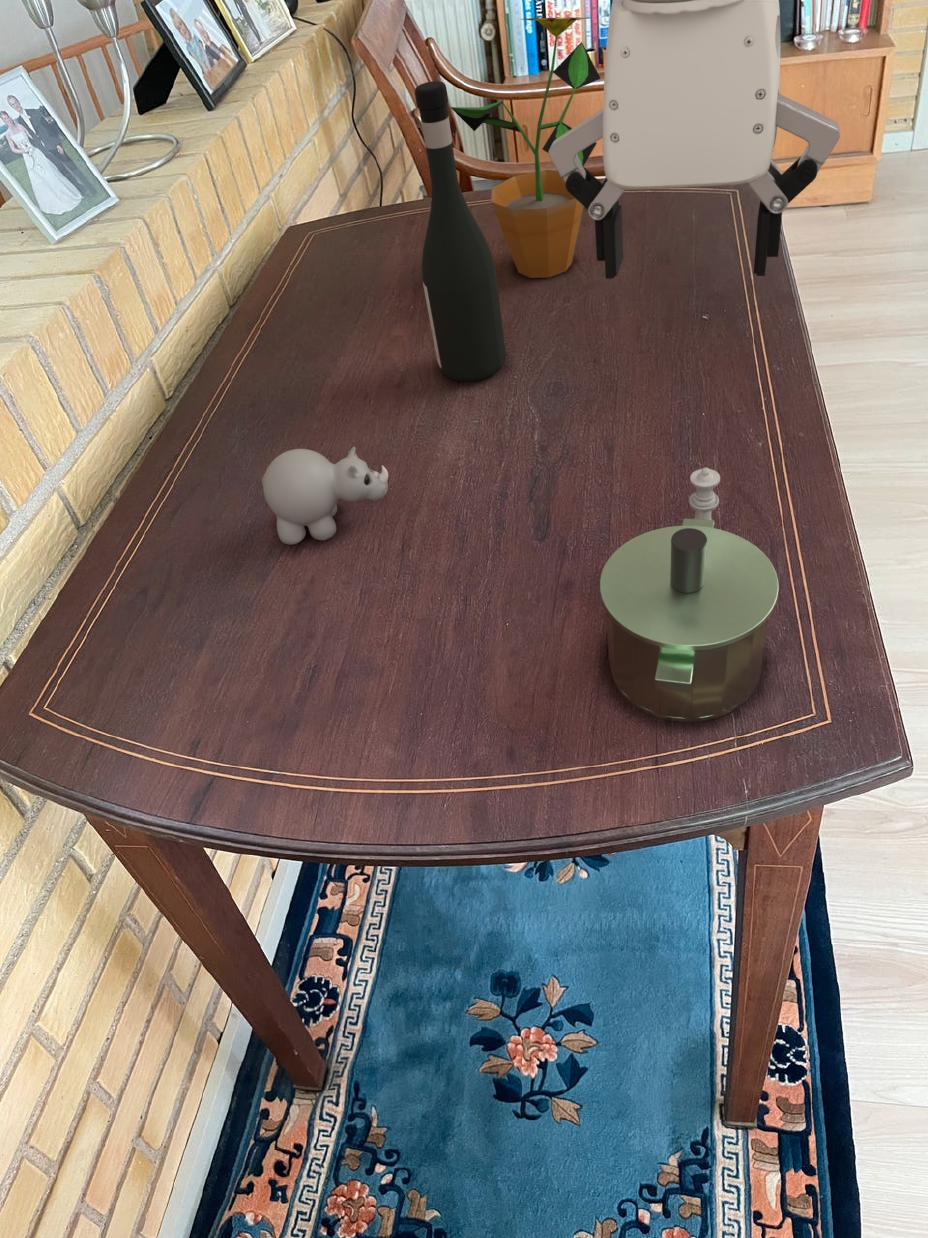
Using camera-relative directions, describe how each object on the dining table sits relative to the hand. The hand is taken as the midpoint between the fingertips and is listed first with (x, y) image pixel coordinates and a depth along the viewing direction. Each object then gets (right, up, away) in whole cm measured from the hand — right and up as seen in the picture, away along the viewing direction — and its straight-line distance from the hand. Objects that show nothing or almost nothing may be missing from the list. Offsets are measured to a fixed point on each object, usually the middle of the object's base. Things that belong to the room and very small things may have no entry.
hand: (685, 267), depth 62 cm
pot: (+2, -27, +10) cm, 29 cm away
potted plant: (-4, +24, +62) cm, 67 cm away
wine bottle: (-14, +6, +46) cm, 48 cm away
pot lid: (+1, -21, +4) cm, 22 cm away
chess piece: (+6, -19, +18) cm, 27 cm away
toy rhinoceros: (-27, -14, +29) cm, 42 cm away
